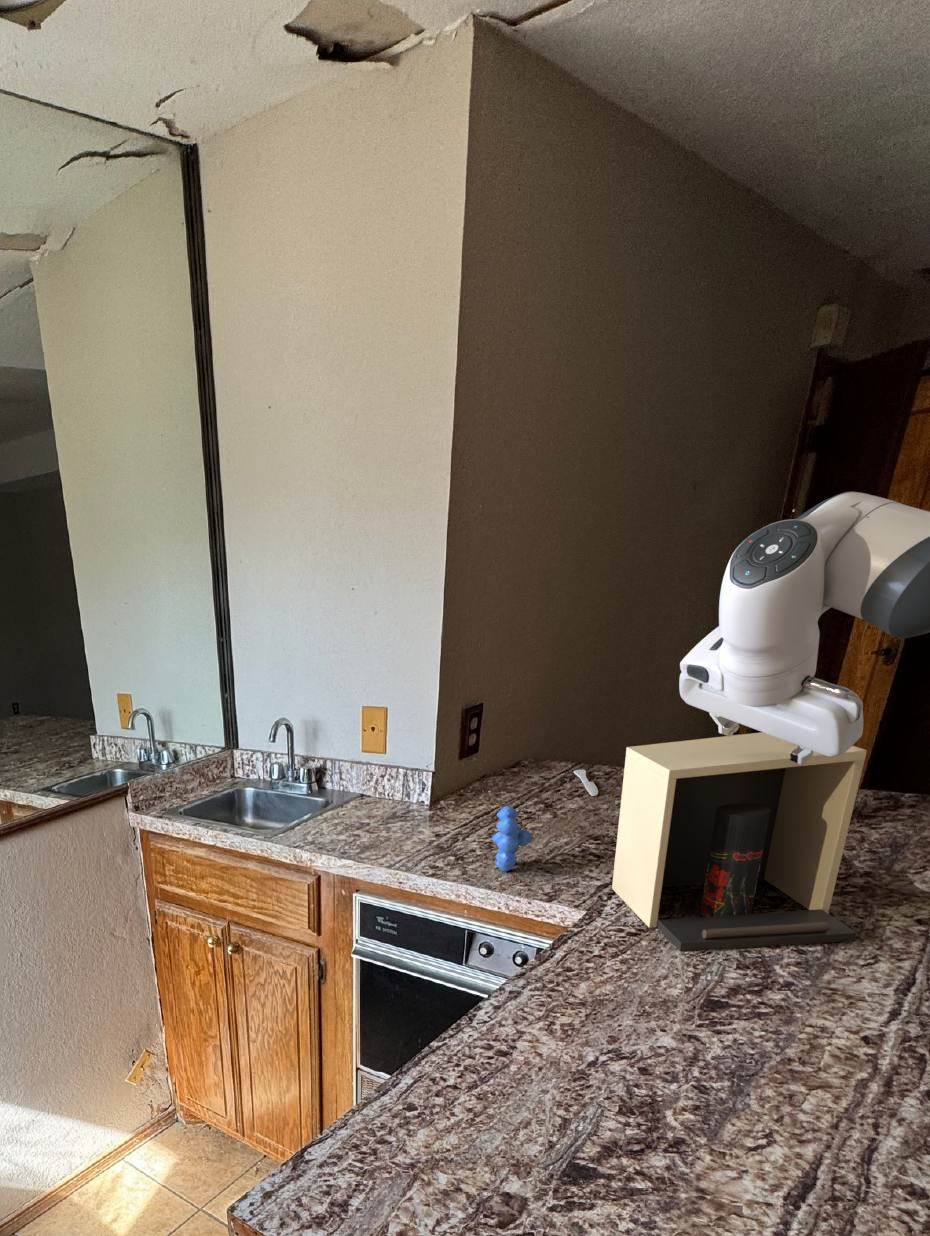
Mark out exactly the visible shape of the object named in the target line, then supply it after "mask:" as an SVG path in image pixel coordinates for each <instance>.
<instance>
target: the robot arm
mask: <svg viewBox="0 0 930 1236" xmlns="http://www.w3.org/2000/svg"><path fill="white" fill-rule="evenodd" d="M722 577H723V578H722V581H721V586H720V591H719V592H720V593H719V603H718V626H717V627H715V629H713V630H712V631H711V632H710V633H708V634H707V635H706V636H705V637H704V638H702V639H701V640H700V641H699V642H698V643H697V644H696V645H695V646H694V647H693V648H691V650H690V651H689V652H688V653H687V654H686V655H685V656H684V657H683V658H682V660H681V661H680V663H679V669H680V671H681V672H680V674H679V680H678V681H679V682H678V687H679V695H680V698H681V699H682V700H683V701H684V702H685V704H687V705H689V706H692V707H693V708H694V707H695V708H696V709H699V710H702V711H704V712H708V713H709V717H711V718H712V720H713V721H714V722H715V724H716V725H717V727H718V734H722V735H724V736H729V737H730V736H733V735H734V733H737V731H738V730H739V729H740V727H741V726H740V725H742V726H744V727H748V728H750V729H753V730H756V731H758V732H760V733H761V732H764V733H766V734H769V735H772V736H774V737H777V738H780V739H782V740H785V741H788V742H790V743H793V744H796V745H798V748H796V749H794V750H793V751H792V752H791V753H790V757H791V758H790V761H793V762H795V763H798V764H800V765H804V764H805V763H806V762H807V761H808V760H809V759H810V758H811V757H812V755H813V751H814V752H817V753H820V754H822V755H825V756H828V757H836V756H838V755H841V754H843V753H844V752H846V751H847V750H848V749H849V748H850V747H852V746H855V744H856V743H857V742H858V741H859V740H860V739H861V737H862V735H863V732H864V709H863V708H864V702H863V700H862V699H861V698H860V697H859V696H858V694H857V692H854V691H853V690H851V689H850V688H848V687H846V686H844V685H843V686H842V685H837V684H834V683H831V682H828V681H826V680H823V679H820V678H817V677H815V675H816V671H817V663H818V655H819V645H820V635H821V633H820V628H819V623H818V622H819V619H820V617H821V616H822V615H823V614H824V613H826V611H828V610H830V609H831V608H832V609H834V610H837V611H841V612H842V613H846V614H847V615H850V616H853V617H855V618H858V619H860V620H863V621H864V622H865V623H867V624H868V625H870V626H872V627H875V628H876V629H878V630H880V631H882V632H883V633H886V634H887V635H890V636H892V637H893V638H896V639H909V638H914V637H918V636H922V635H925V634H929V633H930V511H928V510H925V509H921V508H917V507H914V506H910V505H906V504H904V503H903V504H902V503H901V502H899V501H895V500H891V499H888V498H885V497H881V496H877V495H872V494H869V493H864V492H858V491H854V490H853V491H852V490H851V491H850V490H848V491H843V492H840V493H838V494H835V495H833V496H831V497H829V498H826V499H824V500H823V501H821V502H819V503H818V504H815V505H814V506H813V507H811V508H809V509H808V510H807V511H805V512H803V513H802V514H800V515H799V516H798V517H797V518H795V519H784V520H780V521H776V522H773V523H770V524H768V525H765V526H763V527H762V528H760V529H758V530H756V531H755V532H753V533H751V534H750V535H749V536H747V537H746V538H745V539H744V540H742V542H741V543H740V544H739V545H738V546H737V547H736V548H735V550H734V551H733V552H732V554H731V556H730V559H729V560H728V563H727V565H726V568H725V571H724V573H723V576H722Z"/></svg>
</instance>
